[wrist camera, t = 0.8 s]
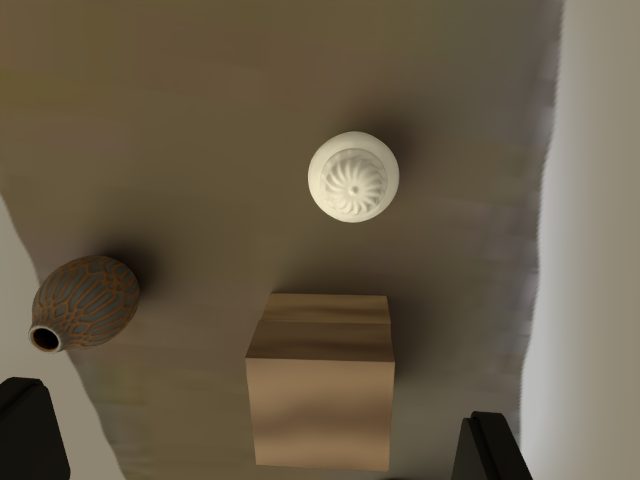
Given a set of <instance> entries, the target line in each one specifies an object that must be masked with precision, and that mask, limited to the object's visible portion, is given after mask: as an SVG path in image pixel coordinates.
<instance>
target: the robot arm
mask: <svg viewBox="0 0 640 480" xmlns="http://www.w3.org/2000/svg"><path fill="white" fill-rule="evenodd" d="M69 479H70V467H69V463H68V459H67V456H66V452H65V448H64V445H63V441H62V438H61V434H60V431H59V426H58V423H57V419H56V416H55V412H54V409H53V404H52V401H51V397H50V393H49V390H48V388H47V387H46V386H44V384H43V383H42V381H41V380H40V379H34V378H20V377H12V378H8V379H7V380H5V381H4V382H2V383H1V384H0V480H69ZM451 480H533V479H532V477H531V474H530V472H529V470H528V467H527V465H526V463H525V461H524V459H523V456H522V454H521V452H520V450H519V448H518V445H517V443H516V441H515V439H514V437H513V434H512V432H511V430H510V428H509V426H508V423H507V421H506V419H505V417H504V416H503V415H502V414H501V413H491V412H478V411H473V413H472V415H471V418H464V419H463V421H462V425H461V431H460V436H459V441H458V446H457V452H456V457H455V462H454V468H453V473H452V478H451Z"/></svg>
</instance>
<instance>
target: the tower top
mask: <svg viewBox="0 0 640 480" xmlns="http://www.w3.org/2000/svg"><path fill="white" fill-rule="evenodd" d="M245 362H246V371H247V381H248V390H249V399H250V408H251V418H252V427H253V436H254V445H255V455H256V464H257V465H271V466H291V467H312V468H332V469H353V470H374V471H388V468H389V452H390V436H391V419H392V403H393V387H394V371H395V359H394V353H393V346H392V340H391V334H390V327H389V324H381V323H337V322H293V321H259V322H258V325H257V327H256V330H255V333H254V335H253V338H252V341H251V343H250V346H249V349H248V351H247V354H246V357H245Z"/></svg>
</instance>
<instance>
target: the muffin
mask: <svg viewBox="0 0 640 480" xmlns="http://www.w3.org/2000/svg"><path fill="white" fill-rule="evenodd" d="M308 183H309V188H310V192H311V194H312V197H313V198H314V200H315V202H316V203H317V204H318V206H319V207H320V208H321V209H322V210H323V211H324V212H326V213H327V214H328V215H330V216H331V217H333V218H335V219H338V220H341V221H344V222H361V221H365V220H368V219H371V218H373V217H375V216H376V215H378V214H379V213H381V212H382V211H383V210H384V209H385V208H386V207H387V206H388V205H389V204H390V203H391V201H392V200H393V198H394V196H395V194H396V192H397V189H398V184H399V168H398V164H397V161H396V158H395V156H394V155H393V153H392V152H391V150H390V149H389V148H388V147H387V146H386V145H385V144H384V143H383V142H382V141H380V140H379V139H377V138H375V137H374V136H372V135H369V134H367V133H363V132H357V131H352V132H346V133H342V134H339V135H337V136H335V137H333V138H331V139H330V140H328V141H327V142H326V143H324V144H323V145H322V146H321V147H320V148H319V149H318V150H317V152H316V153H315V155H314V156H313V158H312V160H311V163H310V166H309V172H308Z"/></svg>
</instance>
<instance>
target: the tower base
mask: <svg viewBox="0 0 640 480" xmlns="http://www.w3.org/2000/svg"><path fill="white" fill-rule="evenodd" d="M261 321H293V322H337V323H381V324H389V327H390V331H391V321H390V315H389V308H388V302H387V296H377V295H330V294H283V293H271V294H270V296H269V299H268V302H267V304H266V307H265V310H264V313H263V315H262V318H261Z"/></svg>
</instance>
